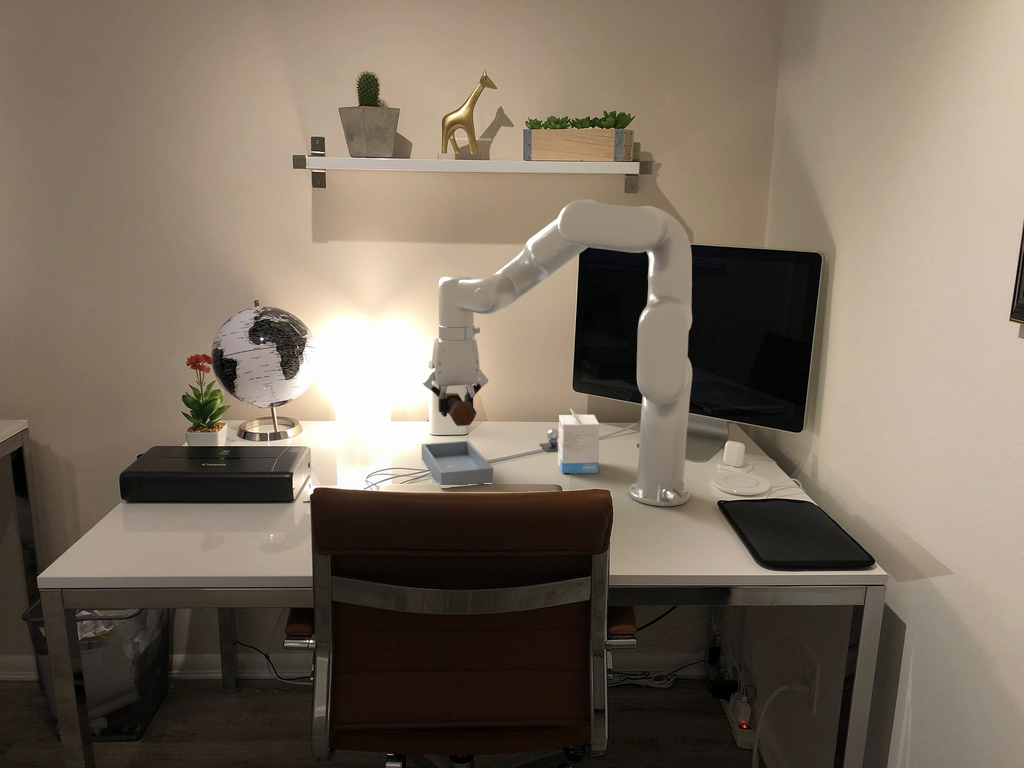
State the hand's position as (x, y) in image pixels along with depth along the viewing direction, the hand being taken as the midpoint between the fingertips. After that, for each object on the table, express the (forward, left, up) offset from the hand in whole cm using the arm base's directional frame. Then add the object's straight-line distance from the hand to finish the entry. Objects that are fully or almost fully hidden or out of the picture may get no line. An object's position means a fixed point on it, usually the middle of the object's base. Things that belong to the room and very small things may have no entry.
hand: (455, 413), depth 184 cm
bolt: (0, 0, -1) cm, 1 cm away
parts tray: (0, 0, -13) cm, 13 cm away
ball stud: (+10, -27, -13) cm, 32 cm away
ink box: (-5, -28, -14) cm, 31 cm away
